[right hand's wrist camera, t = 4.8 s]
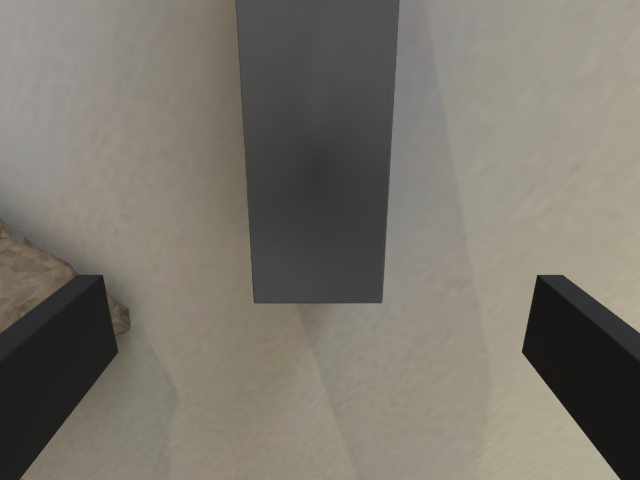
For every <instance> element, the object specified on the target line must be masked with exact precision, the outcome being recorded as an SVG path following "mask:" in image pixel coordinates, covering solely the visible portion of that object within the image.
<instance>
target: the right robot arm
mask: <svg viewBox="0 0 640 480" xmlns="http://www.w3.org/2000/svg"><path fill="white" fill-rule="evenodd" d="M117 353H118V349H117V344H116V339H115V334H114V329H113V324H112V319H111V314H110V309H109V304H108V299H107V294H106V289H105V284H104V279H103V275H77V276H75V277H74V278H73V279H71V280H70V281H69V282H67V283H66V284H65V285H63V286H62V287H61V288H59V289H58V290H57V291H55V292H54V293H53V294H51V295H50V296H49V297H47V298H46V299H45V300H44V301H42V302H41V303H40V304H38V305H37V306H36V307H34V308H33V309H32V310H30V311H29V312H28V313H26V314H25V315H24V316H22V317H21V318H20V319H18V320H17V321H16V322H14V323H13V324H12V325H10V326H9V327H8V328H7V329H5V330H4V331H3V332H1V333H0V480H20V478H21V477H22V476H23V474H24V473H25V472H26V471H27V469H28V468H29V467H30V465H31V464H32V463H33V461H34V460H35V459H36V458H37V456H38V455H39V454H40V452H41V451H42V450H43V449H44V447H45V446H46V445H47V443H48V442H49V441H50V440H51V438H52V437H53V436H54V434H55V433H56V432H57V430H58V429H59V428H60V427H61V425H62V424H63V423H64V421H65V420H66V419H67V418H68V416H69V415H70V414H71V412H72V411H73V410H74V409H75V407H76V406H77V405H78V403H79V402H80V401H81V399H82V398H83V397H84V396H85V394H86V393H87V392H88V390H89V389H90V388H91V387H92V385H93V384H94V383H95V381H96V380H97V379H98V378H99V376H100V375H101V374H102V372H103V371H104V370H105V368H106V367H107V366H108V365H109V363H110V362H111V361H112V359H113V358H114V357H115V356H116V354H117ZM522 353H523V354H524V356H525V357H526V358H527V359H528V361H529V362H530V363H531V365H532V366H533V367H534V368H535V370H536V371H537V372H538V374H539V375H540V376H541V378H542V379H543V380H544V381H545V383H546V384H547V385H548V387H549V388H550V389H551V390H552V392H553V393H554V394H555V396H556V397H557V398H558V399H559V401H560V402H561V403H562V405H563V406H564V407H565V409H566V410H567V411H568V412H569V414H570V415H571V416H572V418H573V419H574V420H575V421H576V423H577V424H578V425H579V427H580V428H581V429H582V430H583V432H584V433H585V434H586V436H587V437H588V438H589V440H590V441H591V442H592V443H593V445H594V446H595V447H596V449H597V450H598V451H599V452H600V454H601V455H602V456H603V458H604V459H605V460H606V461H607V463H608V464H609V465H610V467H611V468H612V469H613V471H614V472H615V473H616V474H617V476H618V477H619V478H620V480H640V333H639V332H637V331H636V330H635V329H633V328H632V327H631V326H630V325H628V324H627V323H626V322H624V321H623V320H622V319H620V318H619V317H618V316H616V315H615V314H614V313H612V312H611V311H610V310H608V309H607V308H606V307H604V306H603V305H602V304H600V303H599V302H598V301H596V300H595V299H594V298H593V297H591V296H590V295H589V294H587V293H586V292H585V291H583V290H582V289H581V288H579V287H578V286H577V285H575V284H574V283H573V282H571V281H570V280H569V279H567V278H566V277H565V276H563V275H537V279H536V284H535V289H534V294H533V299H532V304H531V309H530V314H529V319H528V324H527V329H526V334H525V339H524V344H523V349H522Z"/></svg>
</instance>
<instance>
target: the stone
mask: <svg viewBox="0 0 640 480" xmlns="http://www.w3.org/2000/svg"><path fill="white" fill-rule="evenodd" d="M77 275H78V274H76V273H75V272H74V270H73V268H72V266H71V264H69V263H66V262H64V261H62V260H60V259H57V258H55V257H54V256H53V255H52V254H49V253H45V252H42V251H41V250H39V249H38V248H36V247H35V246H33V245H32V244H31V243H30V242H29V241H28V240H27V238H26V237H25V235H23V234H21V233H19V232H17V231H15V230H14V229H12V228H11V227H10V226H8V225H7V224H6V223H4V221H3V220H2V219H1V218H0V333H1V332H3V331H4V330H5V329H7V328H8V327H9V326H10V325H12V324H13V323H14V322H16V321H17V320H18V319H20V318H21V317H22V316H24V315H25V314H26V313H28V312H29V311H30V310H32V309H33V308H34V307H36V306H37V305H38V304H40V303H41V302H42V301H44V300H45V299H46V298H47V297H49V296H50V295H51V294H53V293H54V292H55V291H57V290H58V289H59V288H61V287H62V286H63V285H65V284H66V283H67V282H69V281H70V280H71V279H73V278H74V277H75V276H77ZM107 299H108V304H109V309H110V314H111V319H112V324H113V329H114V334H115V336H116V335H117V334H120V333H124V332H125V331H127V330H128V329H129V328H130V322H131V321H130V317H129V310H128V309H127V308H126V307H125V306H123V305H121V304H119V303H118V302H117V301H116V300H115V299H114V298H113V297H112V296H109V295H108V294H107Z"/></svg>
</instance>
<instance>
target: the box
mask: <svg viewBox="0 0 640 480" xmlns="http://www.w3.org/2000/svg"><path fill="white" fill-rule="evenodd" d="M236 13H237V29H238V46H239V62H240V79H241V96H242V112H243V129H244V146H245V162H246V179H247V195H248V212H249V229H250V245H251V262H252V279H253V295H254V303H382V298H383V280H384V263H385V245H386V228H387V210H388V192H389V175H390V157H391V139H392V122H393V104H394V86H395V69H396V51H397V33H398V16H399V0H236Z"/></svg>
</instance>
